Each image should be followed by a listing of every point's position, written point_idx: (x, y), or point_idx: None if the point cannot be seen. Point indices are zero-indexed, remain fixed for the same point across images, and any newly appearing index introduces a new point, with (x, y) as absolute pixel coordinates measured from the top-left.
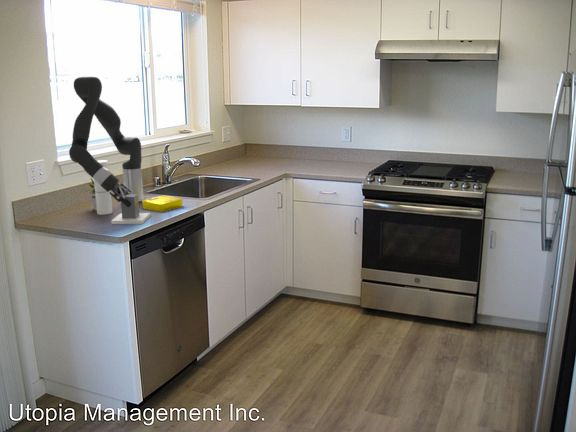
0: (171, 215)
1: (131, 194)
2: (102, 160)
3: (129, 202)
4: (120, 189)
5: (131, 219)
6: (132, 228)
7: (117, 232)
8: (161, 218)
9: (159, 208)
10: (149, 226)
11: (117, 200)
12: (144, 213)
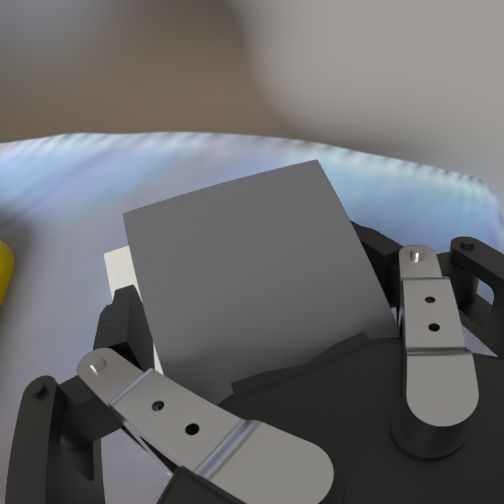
0: (87, 159)
1: (177, 288)
2: None
3: (358, 225)
4: (445, 348)
5: None
6: (399, 206)
7: (471, 237)
8: (155, 169)
9: (2, 259)
10: (330, 147)
11: (476, 301)
12: (123, 286)
